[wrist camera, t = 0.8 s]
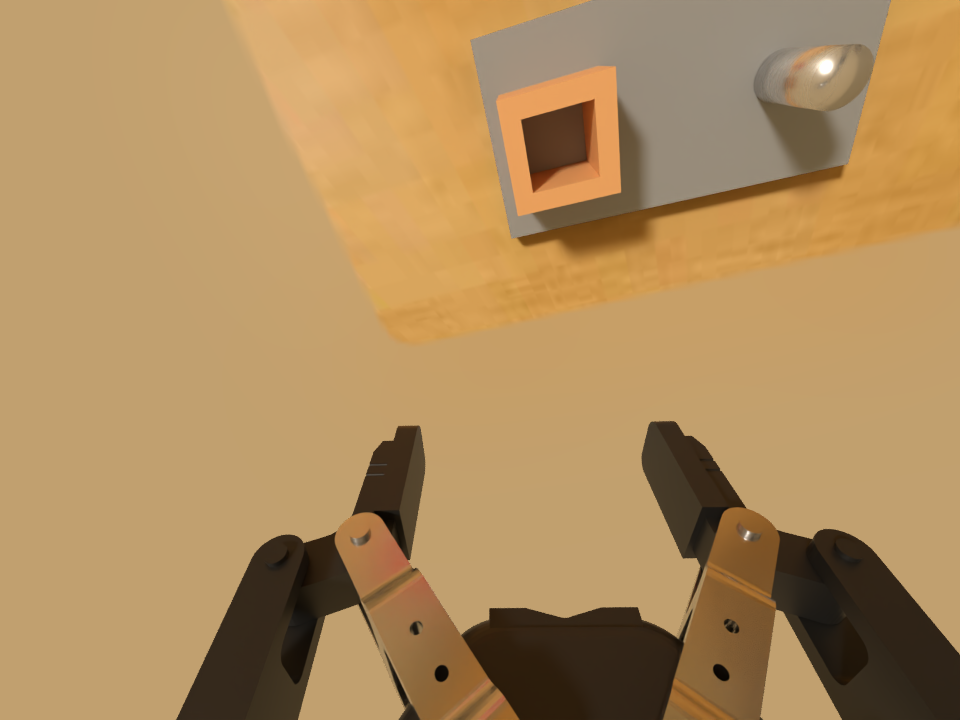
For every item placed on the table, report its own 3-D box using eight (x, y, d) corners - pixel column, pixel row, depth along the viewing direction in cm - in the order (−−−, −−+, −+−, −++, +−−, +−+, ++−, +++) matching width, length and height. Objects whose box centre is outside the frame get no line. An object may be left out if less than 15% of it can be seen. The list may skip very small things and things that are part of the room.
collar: (498, 95, 25) (496, 101, 21) (598, 65, 23) (615, 66, 19) (517, 194, 28) (517, 216, 24) (604, 173, 27) (621, 192, 23)
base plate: (472, 41, 24) (470, 39, 23) (894, -97, 20) (919, -107, 19) (511, 231, 31) (511, 238, 30) (832, 159, 27) (848, 163, 26)
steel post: (744, 55, 24) (815, 53, 18) (793, 42, 23) (881, 35, 18) (739, 105, 25) (803, 117, 20) (784, 93, 25) (864, 102, 19)
